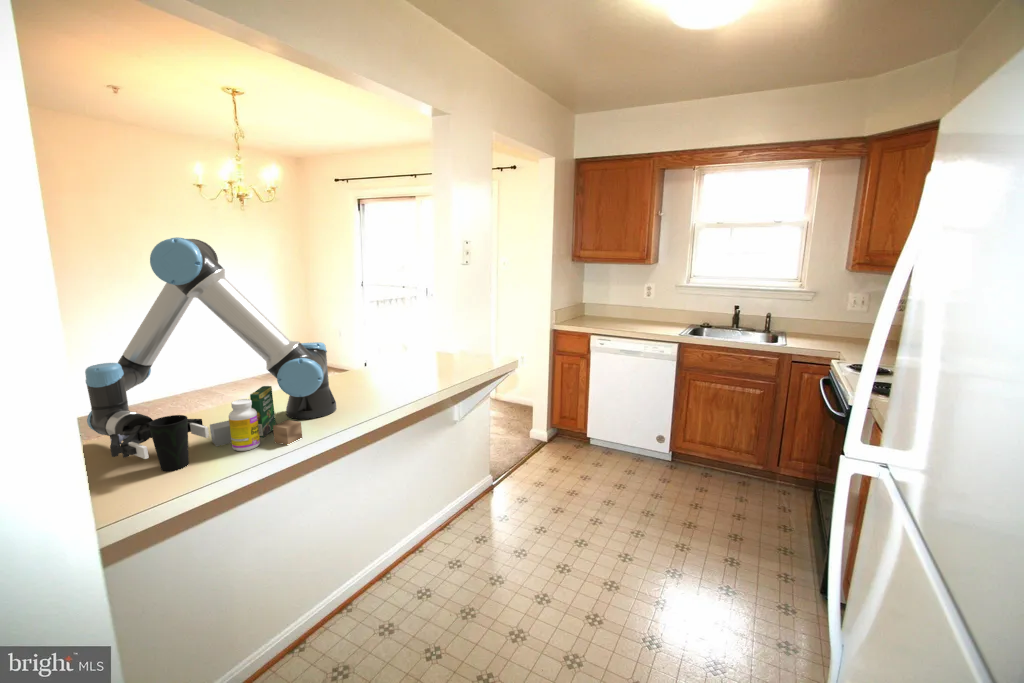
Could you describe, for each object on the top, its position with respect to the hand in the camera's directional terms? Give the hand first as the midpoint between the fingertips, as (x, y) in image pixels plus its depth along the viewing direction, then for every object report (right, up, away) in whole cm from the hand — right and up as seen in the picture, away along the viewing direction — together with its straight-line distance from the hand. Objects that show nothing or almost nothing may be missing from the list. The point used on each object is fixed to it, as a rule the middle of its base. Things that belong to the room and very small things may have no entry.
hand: (178, 442), depth 113 cm
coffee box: (+8, -3, +24) cm, 26 cm away
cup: (-3, -7, +3) cm, 8 cm away
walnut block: (+18, -4, +18) cm, 26 cm away
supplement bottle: (+8, -5, +14) cm, 17 cm away
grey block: (0, -4, +18) cm, 18 cm away
